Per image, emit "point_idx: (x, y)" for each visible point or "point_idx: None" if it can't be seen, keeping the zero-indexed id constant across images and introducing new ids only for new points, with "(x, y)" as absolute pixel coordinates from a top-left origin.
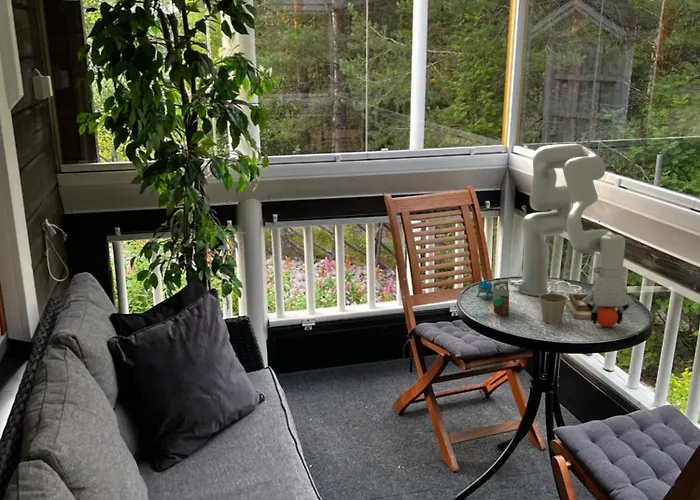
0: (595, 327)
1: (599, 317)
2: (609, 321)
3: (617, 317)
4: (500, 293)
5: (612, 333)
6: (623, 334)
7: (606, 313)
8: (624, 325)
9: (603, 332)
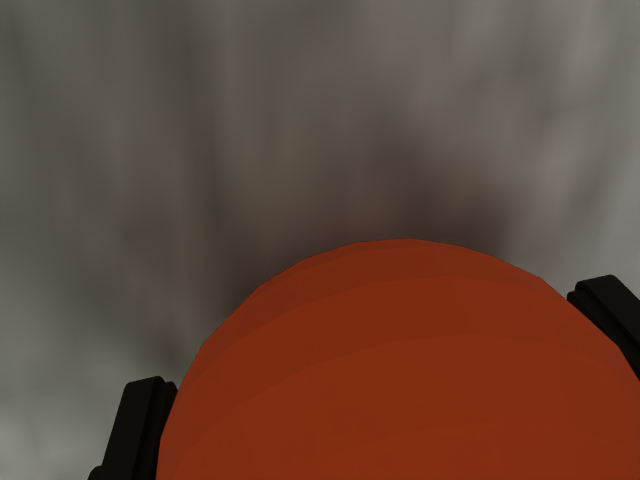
0: (541, 244)
1: (620, 355)
2: (358, 273)
3: (161, 468)
4: None
5: (261, 16)
6: (26, 20)
7: (516, 476)
8: (88, 439)
9: (443, 25)
